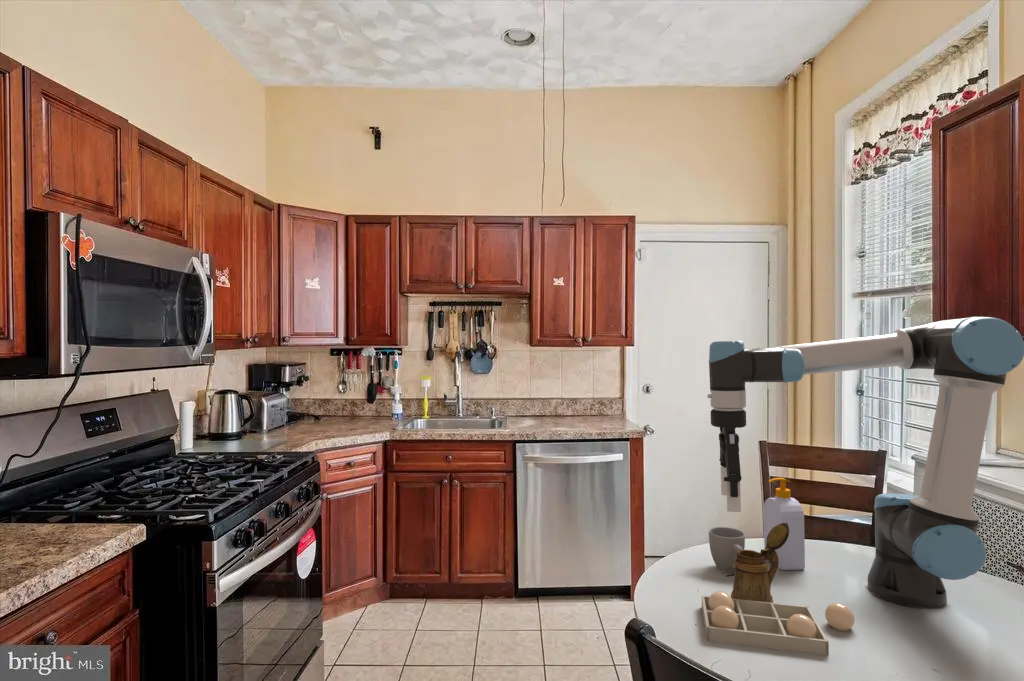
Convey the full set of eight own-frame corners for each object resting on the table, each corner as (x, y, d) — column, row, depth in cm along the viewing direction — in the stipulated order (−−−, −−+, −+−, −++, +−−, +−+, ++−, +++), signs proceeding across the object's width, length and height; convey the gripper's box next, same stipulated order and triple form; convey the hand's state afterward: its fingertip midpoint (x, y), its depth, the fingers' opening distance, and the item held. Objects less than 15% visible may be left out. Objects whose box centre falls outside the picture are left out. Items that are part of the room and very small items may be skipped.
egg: (849, 624, 115) (849, 599, 115) (858, 637, 110) (857, 611, 110) (822, 621, 117) (821, 597, 117) (829, 634, 112) (828, 608, 112)
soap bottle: (761, 558, 152) (760, 474, 153) (786, 557, 153) (784, 474, 153) (779, 571, 143) (778, 482, 144) (805, 570, 144) (803, 482, 144)
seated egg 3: (812, 637, 109) (812, 610, 110) (820, 650, 104) (819, 623, 105) (784, 633, 111) (783, 607, 111) (790, 647, 106) (789, 619, 106)
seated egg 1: (732, 612, 120) (732, 588, 120) (736, 624, 115) (735, 598, 115) (707, 609, 121) (707, 585, 121) (709, 621, 116) (709, 596, 116)
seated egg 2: (737, 628, 113) (736, 602, 113) (740, 641, 108) (740, 614, 108) (710, 625, 114) (710, 599, 115) (712, 637, 109) (712, 611, 110)
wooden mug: (801, 610, 122) (800, 528, 122) (742, 614, 120) (741, 531, 121) (778, 593, 131) (777, 516, 131) (723, 596, 129) (722, 518, 130)
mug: (703, 563, 149) (703, 527, 149) (734, 561, 150) (733, 526, 150) (725, 582, 137) (724, 543, 137) (759, 580, 138) (758, 541, 138)
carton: (808, 621, 117) (808, 606, 117) (828, 658, 103) (828, 641, 103) (701, 609, 123) (701, 595, 123) (707, 643, 109) (706, 627, 109)
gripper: (706, 403, 138) (709, 488, 138) (714, 415, 114) (717, 518, 114) (739, 403, 136) (741, 489, 136) (753, 415, 112) (757, 520, 112)
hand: (730, 503), depth 125 cm, fingers open, 13 cm apart
